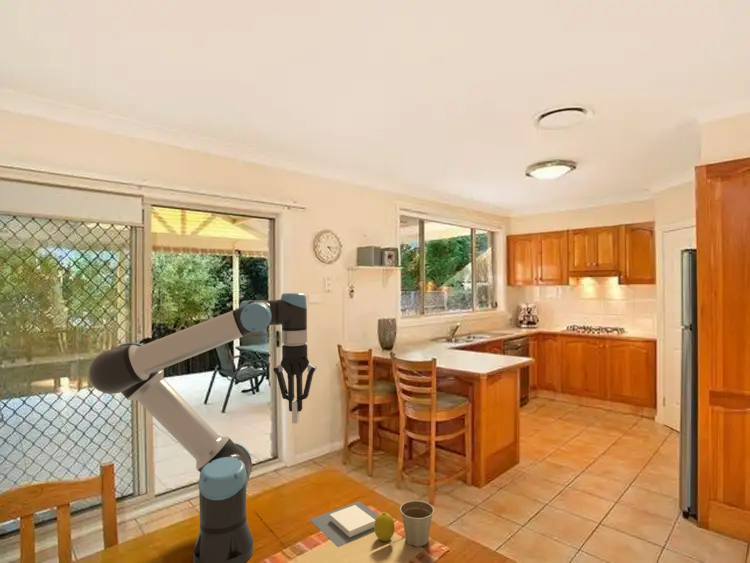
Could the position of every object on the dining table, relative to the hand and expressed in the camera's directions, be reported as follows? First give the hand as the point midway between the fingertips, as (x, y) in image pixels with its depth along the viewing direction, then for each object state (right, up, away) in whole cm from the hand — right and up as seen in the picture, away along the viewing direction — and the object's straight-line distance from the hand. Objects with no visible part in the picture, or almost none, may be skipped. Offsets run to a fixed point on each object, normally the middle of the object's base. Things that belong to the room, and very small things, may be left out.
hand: (295, 421), depth 132 cm
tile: (+14, -28, 0) cm, 31 cm away
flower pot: (+36, -29, -12) cm, 47 cm away
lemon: (+27, -29, -12) cm, 41 cm away
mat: (+17, -29, -3) cm, 34 cm away
